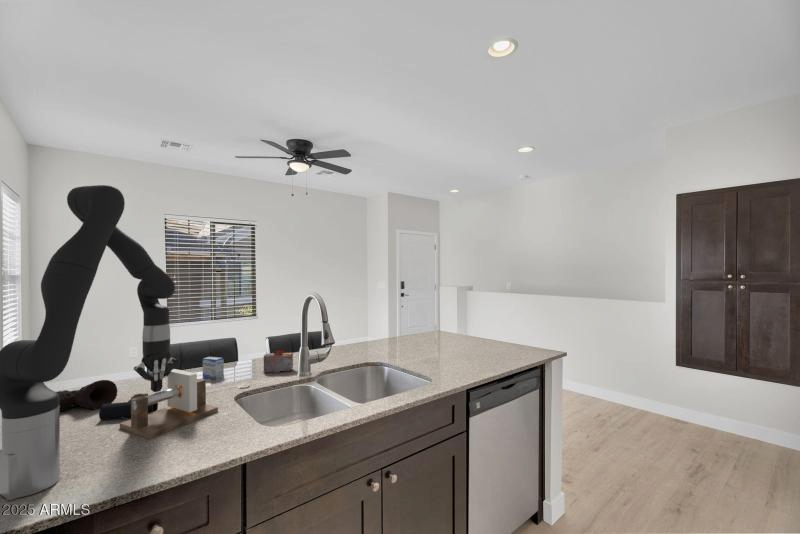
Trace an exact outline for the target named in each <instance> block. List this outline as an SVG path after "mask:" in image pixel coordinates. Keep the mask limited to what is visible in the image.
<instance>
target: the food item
mask: <svg viewBox="0 0 800 534" xmlns="http://www.w3.org/2000/svg"><path fill="white" fill-rule="evenodd" d="M293 368H294V353H293V352H284V351H283V350H275V352H272V353H265V354H264V355H263V373H264V372H271V373H275V372H278V373H281V372H280V371H287V372H290V371H291V370H292V369H293Z"/></svg>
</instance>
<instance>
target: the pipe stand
mask: <svg viewBox="0 0 800 534" xmlns="http://www.w3.org/2000/svg"><path fill="white" fill-rule="evenodd" d="M206 381H207V380H206V379H205V378H203V379H202V378H197V410H195V411H192V412H187V411H183V410H180V409H176V408H173V407H169V406H168V405H167V406H166V407H164V408H160V409H157V411H154V412H151V413H148V398H147V397H144V396H140V397H137V398H133V399H131V398H130V399H131V402H132V401H134V400H135V401H136V404H137V408H136V410H133V409H132V407H131V417H130V419H129V420H125V421H121V422H119V429H122V430H124V431H126V432H129V433H133V434H135V435H138V436H139V437H140V436H141V437H142V438H146V439H149V440H150V439H153V438H155V437H158V436H160V435H164V434H166V433H168V432H171V431H173V430H175V429H177V428H181V427H182V426H185V425H188V424H190V423H193V422H195V421H197V420H199V419H203V418H204V417H207V416H210V415H213V414H214V413H215V414H216V413H217V412H219V407H218V406H215V405H213V404H212V405H211V404H209V403H208V404H207V402H206V401H207V398H206V397H207V394H206V393H207V391H206V390H207V389H206V388H207V387H206V386H207V383H206Z"/></svg>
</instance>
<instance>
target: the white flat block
mask: <svg viewBox="0 0 800 534" xmlns="http://www.w3.org/2000/svg"><path fill="white" fill-rule="evenodd" d="M166 379H167V380H166V383H167V389H166V390H168V389H171V388H175V387H177V386H182V395H181V396H177V397H174V398H170V399H167V407H168V406H169V407H173V408H176V409H180V410H183V411H187V412H192V411H195V410H197V379H198V373H196V372H191V371H186V370H182V369H176V368H173V369H172V371H171V372H170V374H169V375H168V376H166Z"/></svg>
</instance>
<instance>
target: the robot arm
mask: <svg viewBox="0 0 800 534" xmlns="http://www.w3.org/2000/svg"><path fill="white" fill-rule="evenodd" d="M66 203H67V205H68V208H69V209H70V211H71V212H72V214H73V215H74V216H75V217H76V218H77V219H78V220H79V221H80V222H81V223H82V224H81V226H80V228H79V229H78V230H77V232H75V233H74V235H72V236H71V237H70V238H69V239H68V240H66V241H65V243H63V244H62V245H61V246H60V247H59V248H58V249H57V250H56V251H55V252H54V254H53V255H52V256H51V258H50V260H49V261H48V264H47V265H46V268H45V271H44V274H43V276H42V278H41V282H40V291H41V296H42V300H43V301H42V302H43V304H44V309H45V315H44V316H45V317H44V322H43V325H42V327H41V330H40V332H39V335H38V337H37V338H36V339H20V340H15V341H12V342H9V343H7V344H6V345H5V346H3V347H2V348H1V349H0V411H1V449H0V494H1V495H2V496H1V495H0V496H1V497H3V496H4V497H5V498H7V499H8V500H10V501H13V500H16V499H19V498H23V497H27V496H32V495H34V494H36V493H40V492H42V491H45V490H46V489H49V488H51V487H52V486H53V485H55V484H56V483H58V481H59V480H60V479H61V449H60V448H61V443H60V442H61V441H60V439H61V436H60V435H61V434H60V432H61V430H60V425H61V424H60V423H61V422H60V418H61V417H60V412H61V411H60V405H59V395H58V393H56V392H57V391H54V390H52V389H51V388H49V387H48V386H47V385H46V384H45V383H47V382H51V381H52V380H54V379H57V378H58V377H59V376H60V375H61V374H62V372H64V370H65V368H66V367H67V365H68V362H69V359H70V357H71V353H72V350H73V349H72V348H73V345H74V341H75V337H76V333H77V329H78V326H79V325H78V324H79V321H80V319H81V315H82V312H83V309H84V306H85V303H86V300H87V297H88V295H89V292H90V291H91V288H92V286H93V283H94V280H95V277H96V275H97V272H98V269H99V265H100V263H101V260H102V257H103V255H104V253H105V250H106V248H107V247H108V249H110V250H111V252H112V253H113V254H114V255H115V256H116V257H117V258H118V260H119V261H120V262H121V264H122V265H123V266H124V268H125V269H126V270H127V272H128V273H129V274H130V276H131V277H132V278H135V279H138V280H140V281H139V282H138V285H137V288H136V292H137V293H136V294H137V297H138V301H139V304H140V307H141V310H142V313H143V327H142V336H141V339H142V358H141V362H140V363H139V364H138V365H136V366H134V367H133V370H134V371H135V372H136V373H137V374H138V375H139V376H140V377H141V378H142V379H143V380H146V381H150V390H151V391H152V392H153V393H158V392H162V391H161V390H162V389H163V379H164V378H165V377H167V376H168V375H169V374H170V372H171V371H172V370H173V369H175V366H176V365H177V363H178V361H179V360H178V359H177V358H174V357H173V356H172V355H171V327H170V309H169V307H167V306H165V305H162V304H161V303H160V301H159V300H163V299H164V300H165V299H169V298H171V297H172V296H174V294H175V291H176V285H175V283H174V281H173V279H172V278H171V276H169V275H168V273H166V272H165V271H164V270H163V269H162V268H160V267H159V266H158V265H156V264H155V262H154V260H153V259H152V257H151V256H150V254H149V252H147V250H146V249H145V248H144V246H142V245H141V244H140V243H139V242H138V241H136V240H135V239H134V238H132V237H130V236H129V235H128V234H127V233H125V232H124V231H122V230H121V229H120V228H119V227H118V223H119V221H120V220H121V217H122V215H123V213H124V211H125V205H126V203H125V198H124V195H123V193H122V191H121V190H119V189H118V188H117V187H115V186H113V185H107V184H106V185H105V184H99V185H97V184H96V185H85V186H84V185H83V186H77V187H74V188H72V189H71V190H70V191H69V192H68V194H67V196H66ZM146 369H147V371H146ZM4 497H3V498H4ZM5 498H4V499H5ZM7 499H6V500H7ZM8 500H7V501H8ZM10 501H9V502H10Z"/></svg>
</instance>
